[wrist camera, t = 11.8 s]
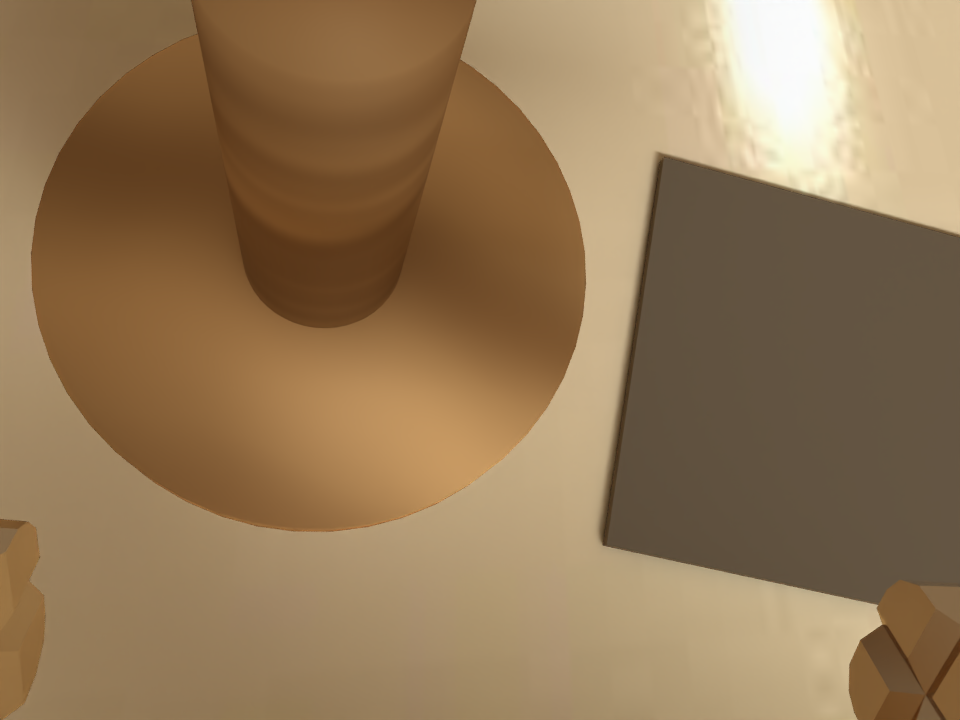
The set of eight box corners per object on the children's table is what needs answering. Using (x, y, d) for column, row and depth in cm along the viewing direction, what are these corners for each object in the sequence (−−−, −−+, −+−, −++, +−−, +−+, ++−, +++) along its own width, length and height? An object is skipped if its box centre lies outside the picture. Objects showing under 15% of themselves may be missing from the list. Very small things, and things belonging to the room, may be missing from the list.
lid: (527, 581, 18) (761, 561, 9) (-34, 466, 17) (-468, 298, 8) (606, 113, 22) (841, -273, 12) (136, -15, 20) (-18, -565, 11)
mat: (994, 629, 31) (1002, 630, 30) (602, 545, 29) (606, 544, 29) (1003, 255, 35) (1011, 251, 34) (660, 162, 33) (663, 157, 33)
